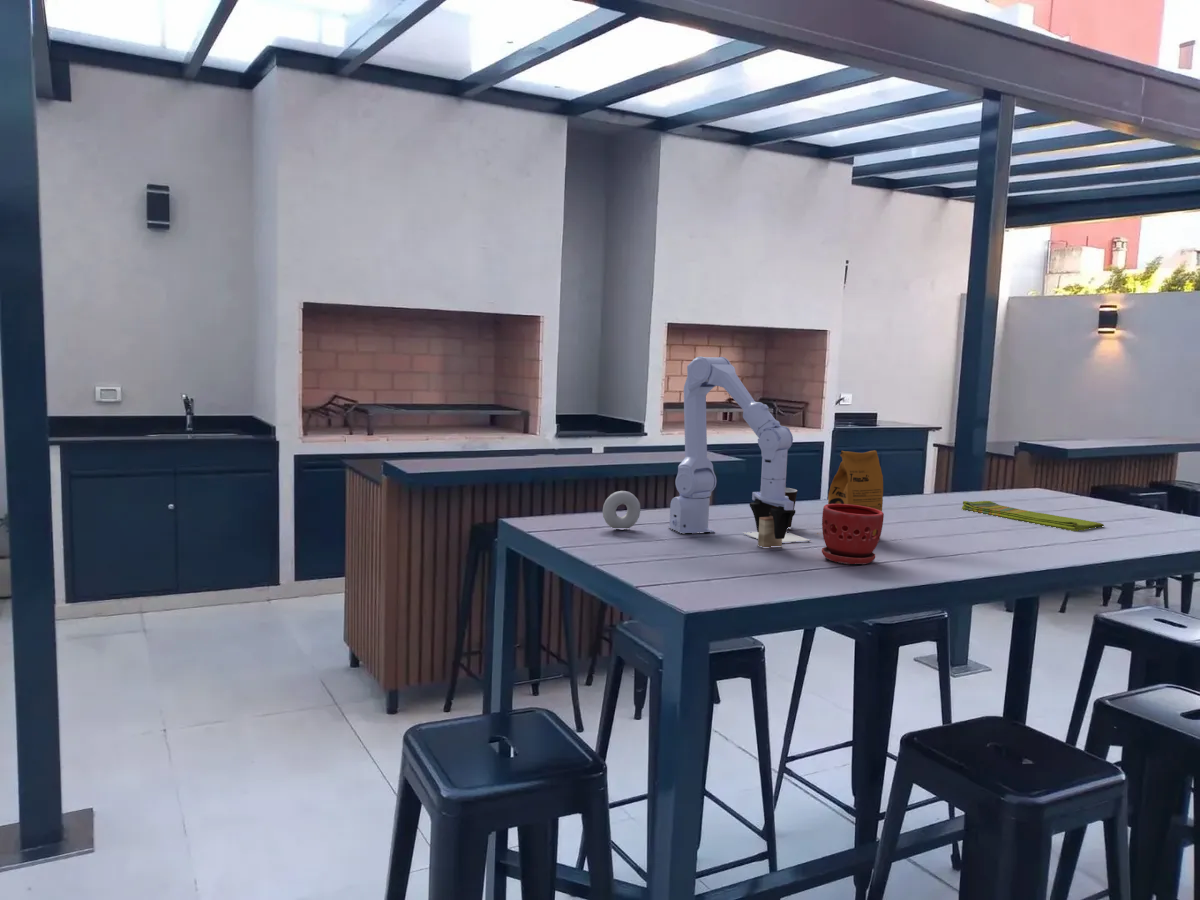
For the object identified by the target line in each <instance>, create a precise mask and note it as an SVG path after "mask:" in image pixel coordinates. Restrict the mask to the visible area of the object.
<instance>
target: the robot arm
mask: <svg viewBox="0 0 1200 900" xmlns="http://www.w3.org/2000/svg"><path fill="white" fill-rule="evenodd" d="M686 372H687V377H686V380H685V383H684V385H683V414H684V417H683V418H684V420H683V421H684V423H683V424H684V426H683V427H684V458H683V460H682V461H681V462H680V463H679V465H678V466H677V475H676V477H675V482H674V483H675V488H676V490H677V492H678V493H679V495H678V496H675V497H673V498H672V499H671V501H670V504H669V505H670V506H669V507H670V508H669V522H668V523H669V525H668V526H667V528H668V527H670V528H672V529H674V530H676V531H678V532H680V533H679V534H681V533H692V534H701V533H700V532H710V533H715V532H716V530H715V529H711V528H710V527H709V522H710V521H709V520H710V499H711V498H710V497H711V496H712V492H713V491H714V490H715V488H716V486H717V476H716V474H715V471H714V464H713V463H712V461H711V460H710V459H709V458H708V440H707V439H708V436H707V433H708V432H707V430H708V429H707V395H708V394H709V393H710V392H711V391H712V390H713V388H715V387H720V388H723V389H724V390H725V391H726V392H727V394H729V396H730V397H731V398H732V399H733V400H734V402H736V404H737V405H738V406H739V407H740V408H741V409H742V411H743V412H742V418H743V420H744V421H745V422H746V424H747V425H748V426H749V428H750V429H751V430H752V431H753V433H754V434H755V435H756V437H757V445H758V446H759V448H760V450H761V473H760V474H761V475H760V476H761V477H760V491H752V494H751V495H752V496H751V497H752V498H751V499H752V501H753V502H752V501H751V502H749V505H748V506H749V507H750V509H751V511H752V514H753V518H754V522H755V526H756V530H757V531H756V532H759V517H769V514H770V511H771V513H772V516H773V520H774V534H775V539H784V537H785V534H786V532H788V529H787V528H788V525H789V523H790V521H791V519H792V520H793V518H794V516H795V514H796V510H795V509H794V510H793V507H794V502H793V501H790V500H789V497H788V496H785V488H787V486H786V485H787V483H786V482H787V465H788V451H789V449H790V448H791V446H792V445H793V443H794V442H793V440H794V439H793V438H794V437H793V433H792V432H791V430H790V428H789V427H788V426H784V425H781V422H780V421H779V420H777V419H775V417H774V416H773V415H772V413H771V412H770V410H769V406H768V405H767V404H765V403H763V402H761V401H755V399H754V398H753V396H752V395H751V393H750V392H749V391H748V389H747V388H746V386H745V385H744V383H743V382H742V381H741V379H740V377H739V376H738V374H737V373H736V367H734V365H733V364H731V361H730V360H729V359H728V358H727V357H724V356H718V357H717V356H716V357H712V356H710V357H709V356H705V357H704V356H696V357H695V358H693V360H691V362H690V363H688V365H687V367H686ZM772 506H777V507H778V508H777V509H771V508H772ZM794 508H795V507H794ZM792 517H793V518H792ZM672 529H671V530H672ZM674 530H673V531H674ZM676 531H675V532H676ZM714 531H715V532H714ZM678 532H677V533H678ZM697 532H699V533H697Z"/></svg>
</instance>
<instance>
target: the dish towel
mask: <svg viewBox="0 0 1200 900" xmlns="http://www.w3.org/2000/svg"><path fill="white" fill-rule="evenodd" d="M962 504H963V505H962V507H961V510H962V509H963V510H962V511H966V510H968V511H967V512H970V511H973V512H972V513H975V512H978V513H977V514H981V513H983V514H982V515H986V514H988V515H987V516H991V515H993V516H992V517H996V516H998V517H997V518H1001V517H1002V518H1001V519H1006V518H1007V519H1006V520H1012V521H1017V520H1018V521H1017V522H1022V521H1024V522H1023V523H1027V522H1029V524H1032V523H1035V524H1034V525H1037V524H1040V525H1039V526H1043V525H1045V526H1044V527H1048V526H1051V527H1050V528H1053V527H1056V528H1055V529H1058V528H1061V529H1060V530H1064V529H1066V531H1069V530H1071V532H1079V531H1078V530H1082V531H1085V530H1084V529H1089V528H1095V527H1102V526H1104V527H1105V525H1104V523H1102V522H1098V521H1097V522H1095V521H1092V520H1086V519H1079V518H1074V517H1068V516H1062V515H1061V516H1060V515H1054V514H1049V513H1044V512H1036V511H1030V510H1025V509H1021V508H1020V509H1019V508H1015V507H1010V506H1006V505H1001V504H999V503H997V502H993V501H991V500H979V501H967V500H963V501H962ZM1089 530H1090V529H1089Z"/></svg>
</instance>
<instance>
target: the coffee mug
mask: <svg viewBox="0 0 1200 900" xmlns="http://www.w3.org/2000/svg"><path fill="white" fill-rule="evenodd" d="M797 494H798V490H797V489H795V488H790V487H785V496H788V497H789V500H790V501H793V502H794V507H793V510H795V507H796V501H797V500H796V499H797V497H798V496H797ZM777 508H778V507H777V506H772V508H771V509H777ZM769 517H772V513H771V511H770V514H769ZM793 518H794V516H793V517H792V519H791V521H790V523H789V525H788V527H791V528H792V524H793V523H792V522H793Z"/></svg>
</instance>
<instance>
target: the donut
mask: <svg viewBox="0 0 1200 900" xmlns="http://www.w3.org/2000/svg"><path fill="white" fill-rule="evenodd" d="M620 505H625V507H626V513H625V515H623V516H619V515H617V508H618V506H620ZM640 516H641V503H640V501H639V499H638V498H637V497H636V496H635V494H633V493H631V492H630V491H626V490H620V491H619V490H618V491H615V492H613V493H611V494H610V495H608V497H607V498H606V499H605V501H604V503H603V507H602V518H603V520H604V522H605V523H606V525H607V526H609V527H610V528H611V527H612V528H611V529H613V528H629V529H630V528H633V526H634V525H635V524H636V523H637V522H638V520H639V518H640Z"/></svg>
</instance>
